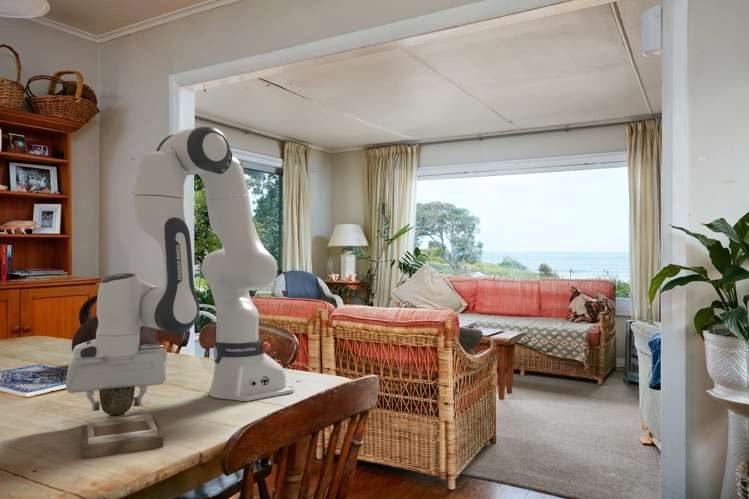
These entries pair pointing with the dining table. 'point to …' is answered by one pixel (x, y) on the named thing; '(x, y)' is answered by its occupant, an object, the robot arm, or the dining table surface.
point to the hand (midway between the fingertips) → (116, 408)
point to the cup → (116, 401)
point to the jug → (91, 324)
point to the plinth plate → (120, 435)
